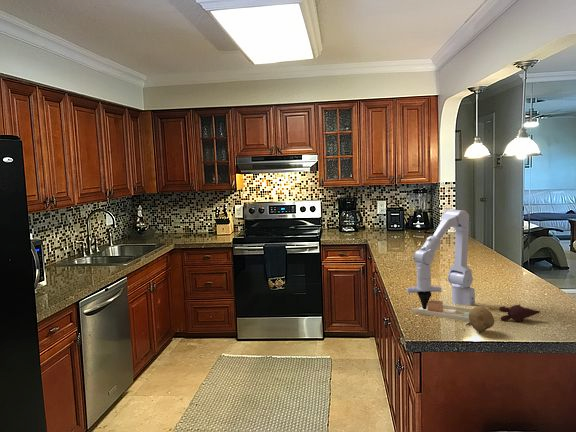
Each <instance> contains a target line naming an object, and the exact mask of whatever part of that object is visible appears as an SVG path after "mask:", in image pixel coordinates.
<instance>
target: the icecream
mask: <svg viewBox="0 0 576 432" xmlns="http://www.w3.org/2000/svg"><path fill="white" fill-rule="evenodd" d="M498 310H499V311H500V312H501V313H506V315H502V316H500V320H501V321H503V322H506V321H510V320H513V321H517V322H524V319H528V318H529V317H532V316H535V315H538V314H540V313H541V312H540V310H537V309H531V308H527V307H524V306H522V305H521V304H514V305H512V306H510V307H506V306H500V307H498Z"/></svg>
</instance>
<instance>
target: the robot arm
mask: <svg viewBox="0 0 576 432" xmlns="http://www.w3.org/2000/svg"><path fill="white" fill-rule="evenodd" d="M450 228H453V229H454V230H455V241H454V242H455V243H454V257H453V258H454V261H453V262H454V263H453V264H452V266H451V267H449V270H448V271H449V272H448V274H447V281H448V283H450V286H451V303H453V305H454V304H455V305H463V306H476V291H475V288H474V287H471V285H472V283H473V278H474V277H473V274H472V273H473V272H472V271H473V270H472V269H471V268H470V267H469V266H468V249H469V236H470V235H469V233H470V231H469V230H470V214H469V213H468V212H467V210H465V209H464V210H463V209H461V210H459V209H450V208H448V209H445V210H444V211H443V213H442V214H441V221H440V223H439V224H438V225H437V228H435V229H436V230H435V231H434V233H433V234H432V235H429V236H428V237H426V240H425V242H424V243H423V245H422V246H421V248H420V249H417V251H415V252H414V254H413V256H412V257H413V260H414V262H415V266H416V286H412V287H406V293H407V294H413V293H416V295H418V298H419V300H420V304H421V307H422V308H423V309H427V303H428V302H429V301H430V300H431V297H432V293H437V292H438V293H442V290H443V288H442V287H441V286H432V282H431V281H432V277H431V275H432V274H431V270H432V269H431V264H432V263H433V261H434V256H435V253H436V251H437V250H438V249H439V247H440V246H441V239H442V238H443V237H444V236H445V234H446V233H447V231H448V230H449V229H450Z"/></svg>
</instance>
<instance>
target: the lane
mask: <svg viewBox="0 0 576 432" xmlns="http://www.w3.org/2000/svg"><path fill="white" fill-rule="evenodd" d="M445 309H446V311H445ZM472 309H473V308H470V307H464V306H458V305H449V304H443V312H442V313H440V312H434V311H428V310H427V309H423V308H422V306H420V307H419V308H417V307H416V308H415V307H412V308H411V313H413V314H414V313H415V314H421V315H426V316H432V317H438V318H445V319H450V320H456V321H462V322H467V323H466V324H465V326H470V327H472V325H471V323H470V320H469V312H470V311H471V310H472ZM457 311H459V312H462V313H457Z"/></svg>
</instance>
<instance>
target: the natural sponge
mask: <svg viewBox="0 0 576 432" xmlns="http://www.w3.org/2000/svg"><path fill="white" fill-rule="evenodd" d="M471 309H472V310H471V311H470V312H469V320H470V323H471V325H472V326H471V327H472V329H474V330H475V332H478V333H483V332H485V331H487V330H488V329H491V328H492V327H493V326H494V325H495V318H494V315H493V314H492V311H490V309H488V308H487V307H485V306H482V305H480V306H475V307H472V308H471Z"/></svg>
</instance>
